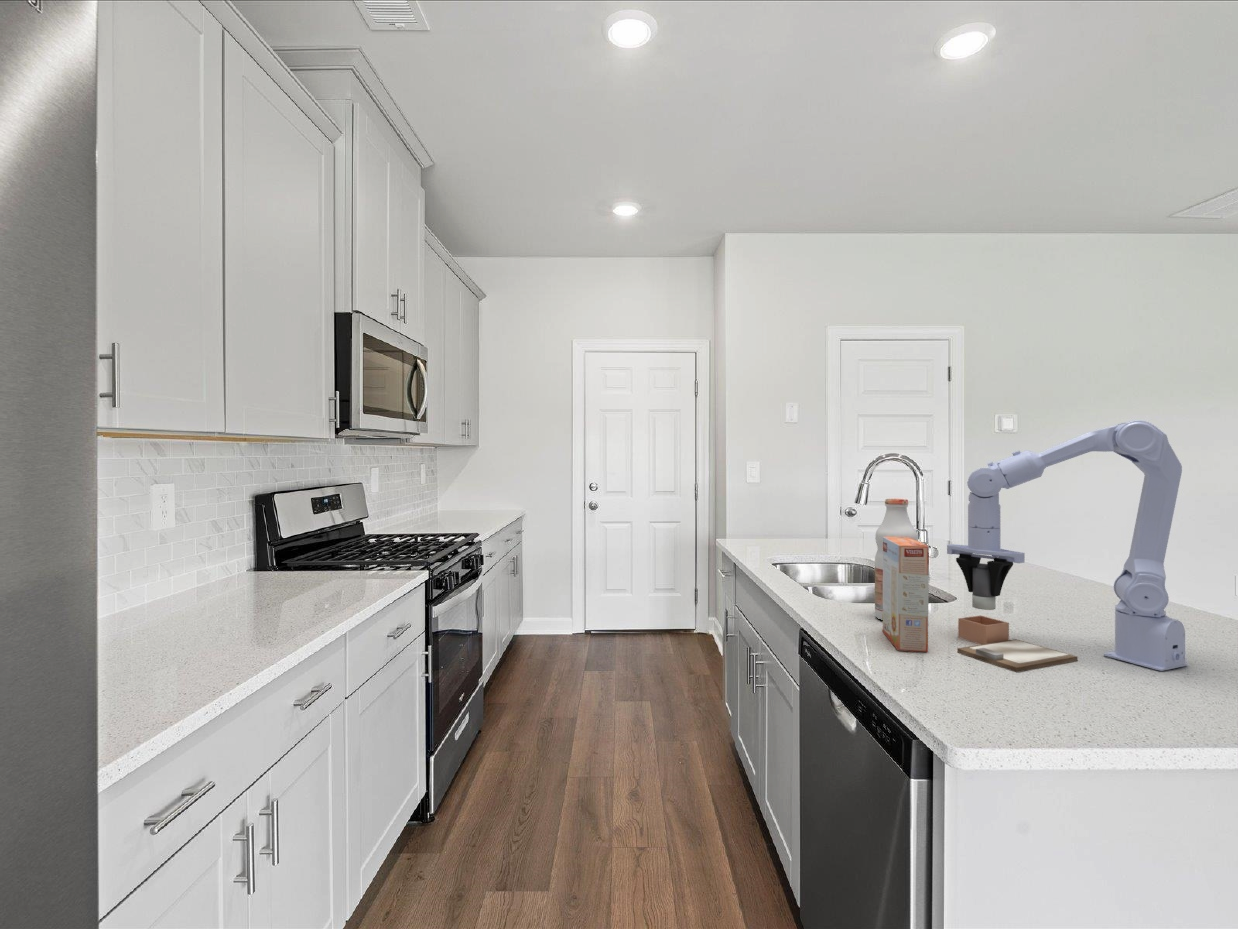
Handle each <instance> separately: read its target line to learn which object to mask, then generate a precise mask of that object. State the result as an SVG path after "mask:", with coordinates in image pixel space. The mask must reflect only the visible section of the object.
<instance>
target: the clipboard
mask: <svg viewBox="0 0 1238 929" xmlns="http://www.w3.org/2000/svg"><path fill="white" fill-rule="evenodd" d="M956 650H957V652H956V653H958V654H961V655H964V656H967V657H970V658H973V659H976V660H978V661H982V662H984V663H985V662H986V663H988V664H991V665H995V666H997V667H1001V668H1003V669H1005V670H1009V671H1012V672H1015V673H1021V672H1026V671H1031V670H1035V669H1037V670H1038V669H1041V668H1042V669H1043V668H1047V667H1051V666H1057V665H1062V664H1069V663H1074V662H1078V657H1079V656H1076V655H1073V654H1069V653H1067V652H1064V651H1059V650H1055V649H1052V648H1048V647H1045V646H1042V645H1038V644H1034V643H1031V642H1027V641H1023V640H1020V639H1016V638H1014V639H1013V638H1012V639H1009V640H1006V641H1000V642H994V643H987V644H975V645H970V646H964V647H957V649H956Z"/></svg>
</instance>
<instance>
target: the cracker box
mask: <svg viewBox="0 0 1238 929" xmlns="http://www.w3.org/2000/svg"><path fill="white" fill-rule="evenodd" d="M929 565H930V546H929V545H927V544H925V543H923V542H920V541H919V540H918V541H916V540H914V539H912V538H909V537H883V621H882V628H881V629H882V633H883V634H884V635H885V636H886V637H887V638H888V641H890V642H891V644H892V645H893V646H894V648H896V650H897V651H903V652H914V653H915V652H916V653H929V594H930V592H929V590H930V588H929V584H930V581H929V573H930V571H929V570H930V569H929V568H930V566H929Z"/></svg>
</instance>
